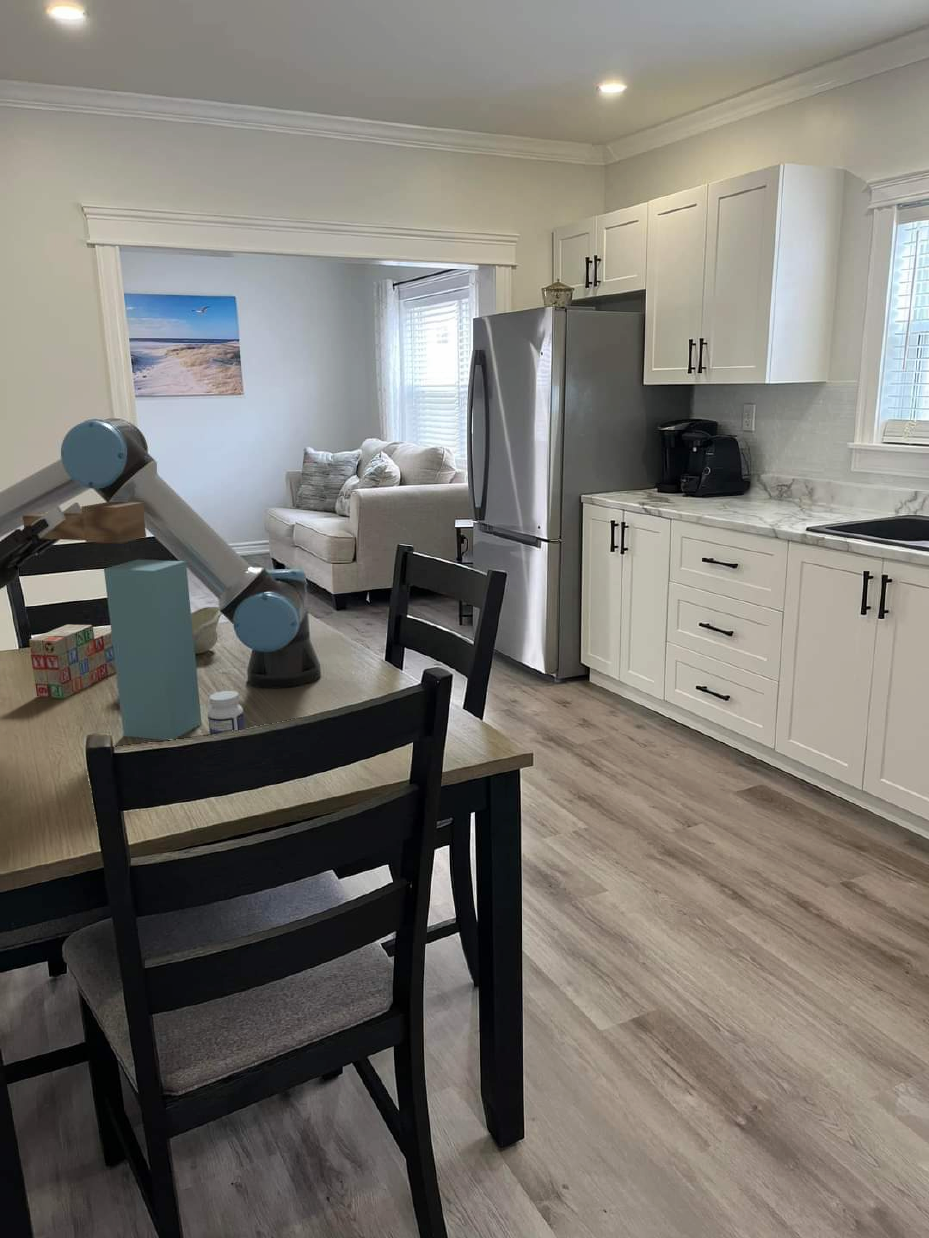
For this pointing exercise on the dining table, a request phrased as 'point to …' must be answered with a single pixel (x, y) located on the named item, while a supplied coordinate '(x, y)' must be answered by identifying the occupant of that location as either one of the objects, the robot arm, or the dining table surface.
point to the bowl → (205, 628)
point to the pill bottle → (225, 712)
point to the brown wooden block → (99, 523)
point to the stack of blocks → (71, 659)
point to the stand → (153, 648)
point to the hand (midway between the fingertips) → (70, 511)
